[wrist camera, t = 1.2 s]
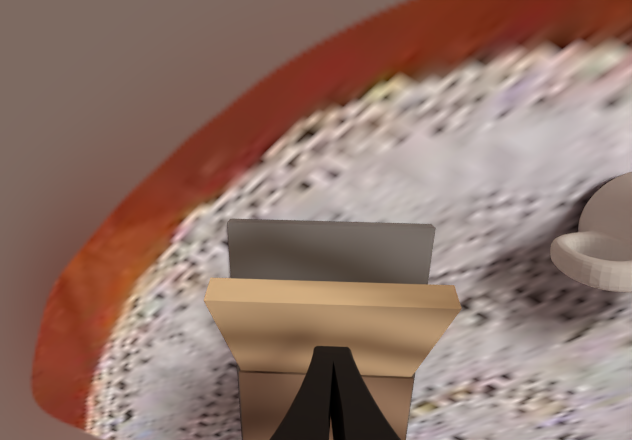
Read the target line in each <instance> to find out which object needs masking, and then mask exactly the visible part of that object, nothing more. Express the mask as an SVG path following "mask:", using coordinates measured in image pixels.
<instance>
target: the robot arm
mask: <svg viewBox="0 0 632 440" xmlns="http://www.w3.org/2000/svg"><path fill="white" fill-rule="evenodd" d="M330 420H331V424H332V435H333V440H401V439H400V438H399V437H398V435H397V434H396V432H395V431H394V430H393V428H392V427H391V425H390V424H389V422H388V421H387V420H386V418H385V416H384V415H383V413H382V412H381V410H380V409H379V407H378V405H377V404H376V402H375V400H374V399H373V397H372V395H371V393H370V391H369V390H368V388H367V386H366V384H365V382H364V380H363V378H362V376H361V374H360V372H359V370H358V368H357V365H356V363H355V361H354V358H353V355H352V352H351V349H350V348H349V347H339V346H316V347H315V348H314V350H313V355H312V359H311V362H310V365H309V368H308V371H307V373H306V375H305V378H304V380H303V382H302V385H301V387H300V389H299V391H298V393H297V395H296V397H295V399H294V401H293V402H292V404H291V406H290V408H289V410H288V412H287V413H286V415H285V417H284V418H283V420H282V422H281V423H280V425H279V426H278V428H277V429H276V431H275V432H274V434H273V435H272V437H271V438H270V440H329V433H330Z"/></svg>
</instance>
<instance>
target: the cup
mask: <svg viewBox="0 0 632 440" xmlns="http://www.w3.org/2000/svg"><path fill="white" fill-rule="evenodd" d="M550 257H551V260H552V262H553V263H554V265H555V266H556V267H557V268H558V269H559V270H560V271H561V272H563V273H564V274H566V275H567V276H569V277H570V278H572V279H574V280H576V281H578V282H580V283H582V284H585V285H587V286H590V287H593V288H597V289H601V290H606V291H613V292H632V172H629V173H626V174H623V175H621V176H619V177H617V178H615V179H613V180H611V181H610V182H608V183H607V184H605V185H604V186H602V187H601V188H600V189H599V190H598V191H597V192H596V193H595V194H594V195H593V196H592V197H591V199H590V200H589V201H588V203H587V204H586V206H585V207H584V209H583V212H582V214H581V217H580V221H579V226H578V232H577V233H570V234H565V235H561V236H559V237H557V238H555V239H554V240H553V242H552V243H551V248H550Z"/></svg>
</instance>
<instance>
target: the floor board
mask: <svg viewBox="0 0 632 440" xmlns="http://www.w3.org/2000/svg"><path fill="white" fill-rule="evenodd" d="M227 228H228V242H229V257H230V272H231V278H236V279H267V280H299V281H331V282H362V283H394V284H426V285H428V278H429V270H430V263H431V256H432V249H433V242H434V235H435V227H434V226H433V225H432V224H406V223H369V222H332V221H296V220H259V219H230V220H229V221H228V222H227ZM237 374H238V388H239V403H240V418H241V432H242V440H270V438H271V437H272V435H273V434H274V432H275V431H276V429H277V428H278V426H279V425H280V423H281V422H282V420H283V418H284V417H285V415H286V413H287V412H288V410H289V408H290V406H291V404H292V402H293V401H294V399H295V397H296V395H297V393H298V391H299V389H300V387H301V385H302V382H303V380H304V378H305V375H306V373H298V372H272V371H246V370H241V369H240V367H239V365H238V363H237ZM361 376H362V378H363V380H364V382H365V384H366V386H367V388H368V390H369V391H370V393H371V395H372V397H373V399H374V400H375V402H376V404H377V405H378V407H379V409H380V410H381V412H382V413H383V415H384V416H385V418H386V420H387V421H388V422H389V424H390V425H391V427H392V428H393V430H394V431H395V432H396V434H397V435H398V437H399V438H400V439H401V440H406V434H407V427H408V420H409V413H410V405H411V398H412V391H413V384H414V377H415V373H414V374H413V375H412V377H403V376H377V375H361ZM329 440H333V435H332V424H331V420H330V433H329Z"/></svg>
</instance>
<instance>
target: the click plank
mask: <svg viewBox="0 0 632 440" xmlns="http://www.w3.org/2000/svg"><path fill="white" fill-rule="evenodd" d="M204 302H205V304H206V306H207V308H208V309H209V311H210V313H211V315H212V317H213V319H214V321H215V322H216V324H217V326H218V328H219V330H220V332H221V334H222V335H223V337H224V339H225V341H226V343H227V345H228V347H229V348H230V350H231V352H232V354H233V356H234V358H235V360H236V361H237V363H238V365H239V367H240V369H241V370H246V371H272V372H298V373H307V371H308V368H309V365H310V362H311V359H312V355H313V350H314V348H315V347H316V346H339V347H349V348H350V349H351V352H352V355H353V358H354V361H355V363H356V365H357V368H358V370H359V372H360V374H361V375H377V376H403V377H412V375H413V374H414V373H415V371H416V370H417V369H418V367H419V366H420V365H421V363H422V362H423V360H424V359H425V358H426V356H427V355H428V354H429V352H430V351H431V350H432V348H433V347H434V346H435V344H436V343H437V341H438V340H439V339H440V337H441V336H442V335H443V333H444V332H445V331H446V329H447V328H448V327H449V325H450V324H451V322H452V321H453V320H454V318H455V317H456V316H457V314H458V313H459V312H460V310H461V306H460V303H459V299H458V296H457V293H456V289H455V286H454V285H426V284H394V283H362V282H331V281H299V280H267V279H236V278H210V282H209V285H208V288H207V291H206V294H205V298H204Z"/></svg>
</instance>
